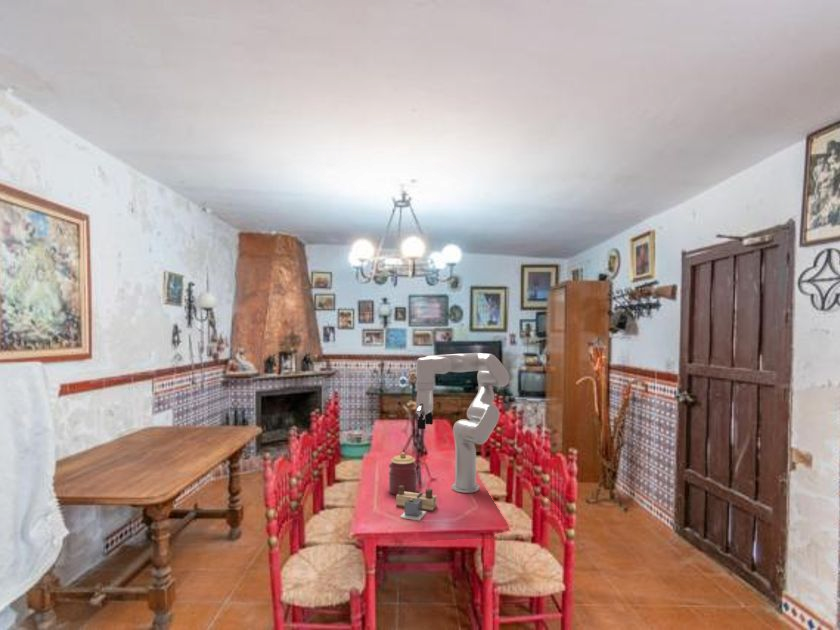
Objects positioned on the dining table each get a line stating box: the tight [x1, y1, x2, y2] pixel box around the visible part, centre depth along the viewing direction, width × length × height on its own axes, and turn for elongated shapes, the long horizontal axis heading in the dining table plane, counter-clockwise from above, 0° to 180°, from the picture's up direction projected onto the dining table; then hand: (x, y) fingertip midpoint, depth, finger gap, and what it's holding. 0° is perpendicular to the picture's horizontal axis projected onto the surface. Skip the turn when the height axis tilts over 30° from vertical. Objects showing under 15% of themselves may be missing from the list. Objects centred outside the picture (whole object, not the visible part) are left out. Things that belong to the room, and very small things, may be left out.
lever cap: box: [404, 498, 423, 517], centre depth 186 cm, size 5×6×6 cm
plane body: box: [395, 485, 438, 512], centre depth 195 cm, size 6×16×8 cm, turn 70°
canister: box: [388, 451, 418, 496], centre depth 213 cm, size 13×13×18 cm
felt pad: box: [399, 510, 427, 522], centre depth 186 cm, size 8×8×1 cm
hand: (425, 426), depth 200 cm, fingers open, 9 cm apart
